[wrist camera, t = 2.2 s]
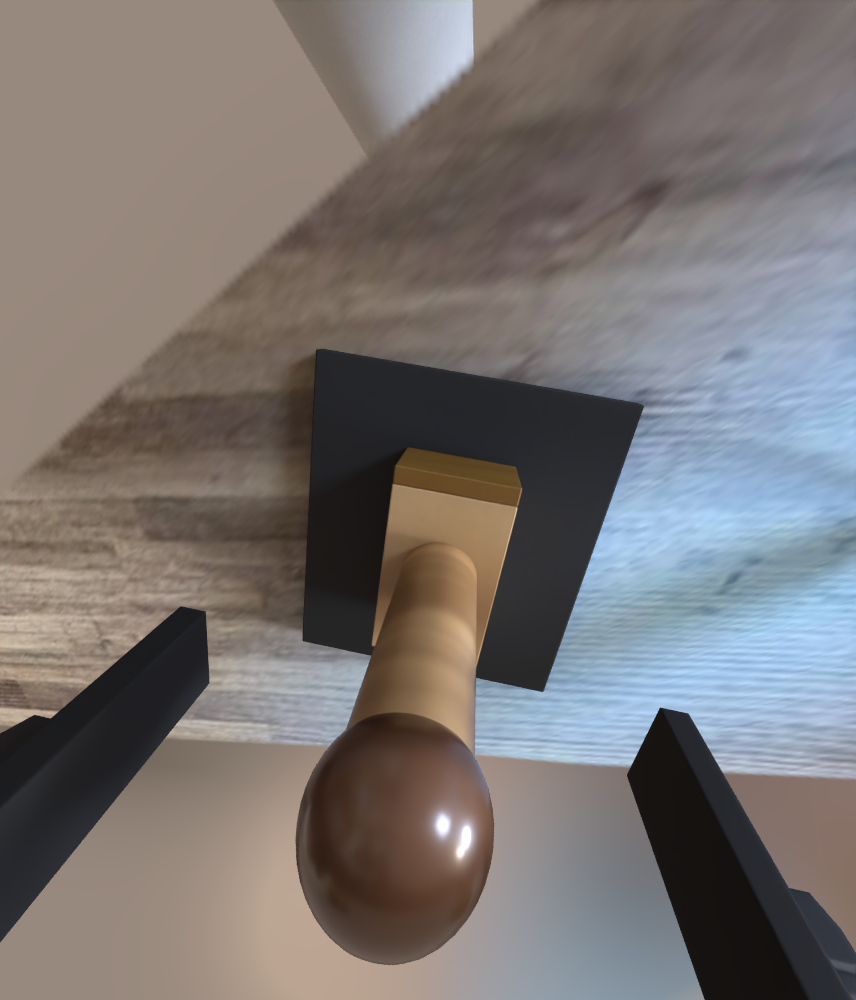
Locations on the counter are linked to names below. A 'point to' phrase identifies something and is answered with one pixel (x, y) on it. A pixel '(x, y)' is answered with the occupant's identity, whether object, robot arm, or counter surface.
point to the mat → (471, 434)
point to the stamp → (413, 726)
